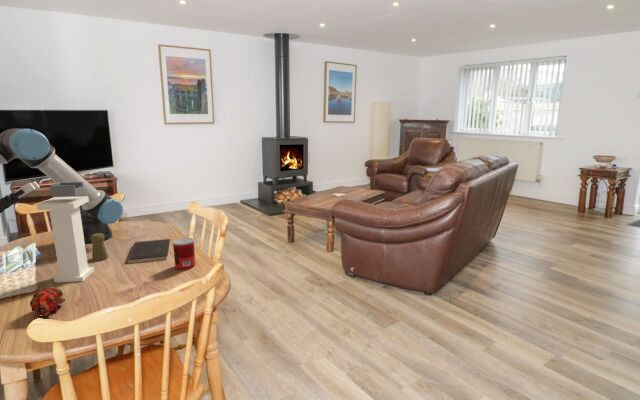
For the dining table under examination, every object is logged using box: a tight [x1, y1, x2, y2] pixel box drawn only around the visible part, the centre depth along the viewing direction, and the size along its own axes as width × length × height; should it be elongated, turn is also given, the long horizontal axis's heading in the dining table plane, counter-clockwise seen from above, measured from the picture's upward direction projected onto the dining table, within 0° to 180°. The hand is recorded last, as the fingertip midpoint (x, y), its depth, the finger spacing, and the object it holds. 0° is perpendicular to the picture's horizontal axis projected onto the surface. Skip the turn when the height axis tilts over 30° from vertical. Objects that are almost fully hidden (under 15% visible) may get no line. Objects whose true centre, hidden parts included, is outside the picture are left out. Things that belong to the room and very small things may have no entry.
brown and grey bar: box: [11, 182, 84, 198], centre depth 142 cm, size 22×7×4 cm, turn 98°
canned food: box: [172, 237, 196, 271], centre depth 159 cm, size 8×8×11 cm
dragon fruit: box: [29, 286, 66, 319], centre depth 123 cm, size 8×8×12 cm
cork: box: [90, 233, 109, 262], centre depth 167 cm, size 6×6×11 cm
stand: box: [36, 196, 95, 283], centre depth 147 cm, size 12×12×30 cm
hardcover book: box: [126, 238, 171, 264], centre depth 176 cm, size 16×23×2 cm
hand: (34, 185), depth 141 cm, fingers closed on brown and grey bar, 2 cm apart
